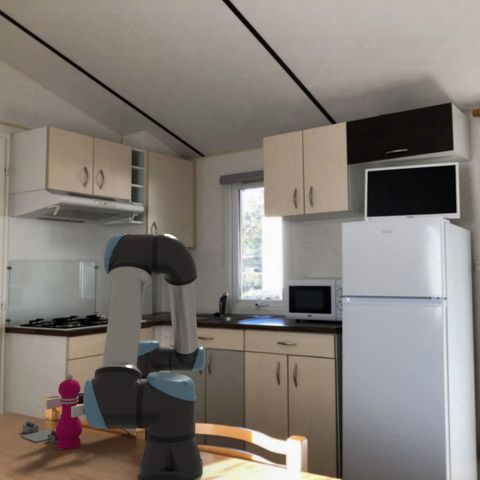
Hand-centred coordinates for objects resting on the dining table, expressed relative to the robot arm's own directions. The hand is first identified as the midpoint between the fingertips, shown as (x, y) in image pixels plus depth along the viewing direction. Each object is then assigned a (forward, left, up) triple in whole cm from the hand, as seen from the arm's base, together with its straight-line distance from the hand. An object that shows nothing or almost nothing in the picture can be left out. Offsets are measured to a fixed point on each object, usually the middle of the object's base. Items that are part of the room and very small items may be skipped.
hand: (58, 408), depth 154 cm
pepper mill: (0, -3, -11) cm, 12 cm away
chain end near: (+7, -3, -11) cm, 13 cm away
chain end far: (+22, -3, -11) cm, 25 cm away
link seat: (+14, -3, -11) cm, 18 cm away
